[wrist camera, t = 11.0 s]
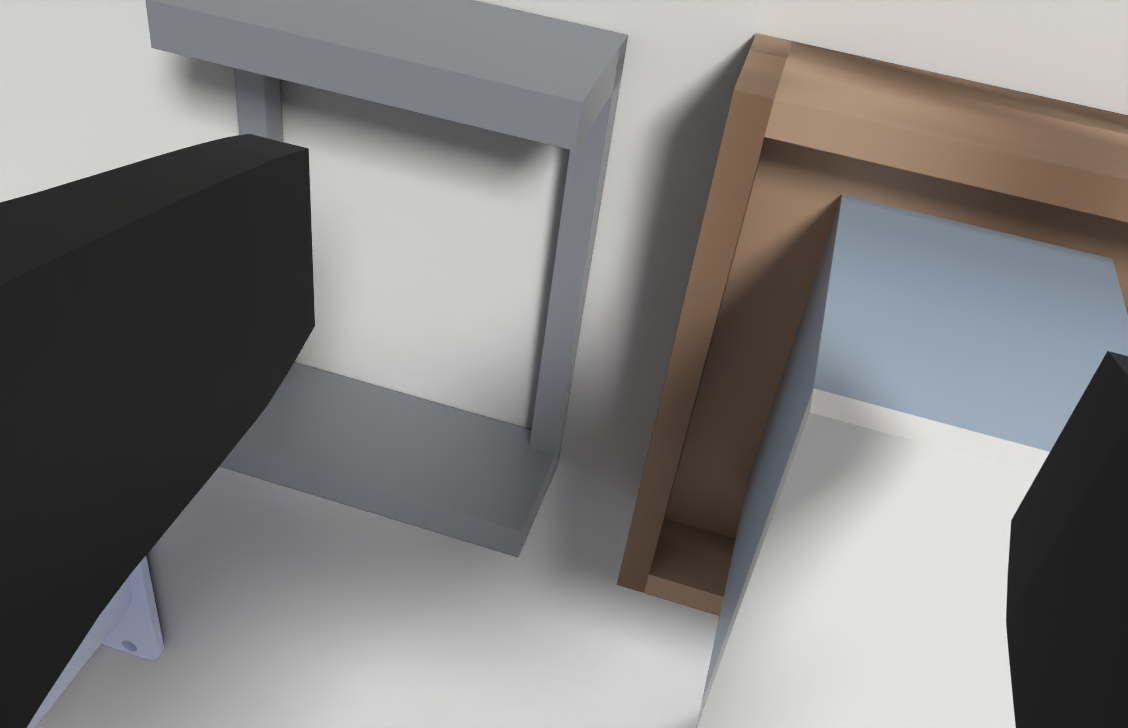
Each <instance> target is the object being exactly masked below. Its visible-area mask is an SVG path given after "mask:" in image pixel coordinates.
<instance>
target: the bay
mask: <svg viewBox="0 0 1128 728" xmlns="http://www.w3.org/2000/svg"><path fill="white" fill-rule="evenodd" d="M146 8H147V16H148V23H149V31H150V38H151V46H152V48H155V49H159V50H163V51H167V52H171V53H175V54H179V55H184V56H188V57H192V58H196V59H200V60H204V61H208V62H212V63H216V64H220V65H225V66H229V67H233V68H234V72H235V85H236V97H237V109H238V122H239V134H240V135H244V134H253V135H256V136H260V137H264V138H268V139H272V140H276V141H280V142H283V132H282V113H281V94H280V79H282V80H286V81H290V82H294V83H298V84H303V85H307V86H311V87H315V88H319V89H323V90H327V91H331V92H335V93H339V94H344V95H348V96H352V97H356V98H360V99H364V100H368V101H372V102H376V103H380V104H385V105H389V106H393V107H397V108H401V109H405V110H409V111H413V112H417V113H422V114H426V115H430V116H434V117H438V118H442V119H446V120H450V121H454V122H458V123H463V124H467V125H471V126H475V127H479V128H483V129H487V130H491V131H495V132H499V133H504V134H508V135H512V136H516V137H520V138H524V139H528V140H532V141H536V142H540V143H545V144H549V145H553V146H557V147H561V148H565V149H569V150H570V154H569V161H568V168H567V176H566V183H565V190H564V197H563V205H562V212H561V219H560V227H559V234H558V241H557V248H556V256H555V263H554V270H553V278H552V285H551V292H550V299H549V307H548V314H547V321H546V329H545V336H544V343H543V350H542V358H541V365H540V372H539V380H538V387H537V394H536V401H535V409H534V416H533V423H532V430H529V429H526V428H522V427H519V426H515V425H512V424H508V423H505V422H501V421H498V420H494V419H491V418H487V417H484V416H480V415H477V414H473V413H470V412H466V411H463V410H459V409H456V408H452V407H449V406H445V405H442V404H438V403H435V402H431V401H428V400H424V399H421V398H417V397H414V396H410V395H407V394H403V393H400V392H396V391H393V390H389V389H386V388H382V387H379V386H375V385H372V384H368V383H365V382H361V381H358V380H354V379H351V378H347V377H344V376H340V375H337V374H333V373H330V372H326V371H323V370H319V369H316V368H312V367H309V366H305V365H302V364H298V363H295V361H294V363H293V365H292V367H291V369H290V370H289V372H288V373H287V375H286V377H285V378H284V380H283V382H282V383H281V385H280V386H279V388H278V390H277V391H276V393H275V394H274V396H273V398H272V399H271V401H270V403H269V404H268V406H267V407H266V408H265V409H264V411H263V412H262V413H261V415H260V416H259V417H258V418H257V420H256V421H255V422H254V424H253V425H252V426H251V427H250V429H249V430H248V431H247V432H246V434H245V435H244V436H243V437H242V439H241V440H240V441H239V442H238V444H237V445H236V446H235V447H234V448H233V450H232V451H231V452H230V453H229V455H228V456H227V457H226V458H225V460H224V461H223V462H222V463H221V465H220V467H223V468H226V469H229V470H233V471H236V472H239V473H243V474H246V475H249V476H252V477H256V478H259V479H262V480H266V481H269V482H272V483H275V484H279V485H282V486H285V487H289V488H292V489H295V490H298V491H302V492H305V493H308V494H312V495H315V496H318V497H321V498H325V499H328V500H331V501H335V502H338V503H341V504H344V505H348V506H351V507H354V508H358V509H361V510H364V511H367V512H371V513H374V514H377V515H380V516H384V517H387V518H390V519H394V520H397V521H400V522H403V523H407V524H410V525H413V526H417V527H420V528H423V529H426V530H430V531H433V532H436V533H440V534H443V535H446V536H449V537H453V538H456V539H459V540H463V541H466V542H469V543H472V544H476V545H479V546H482V547H486V548H489V549H492V550H495V551H499V552H502V553H505V554H509V555H512V556H515V557H519V554H520V552H521V550H522V547H523V545H524V543H525V540H526V538H527V536H528V533H529V531H530V528H531V526H532V524H533V521H534V519H535V517H536V514H537V512H538V510H539V507H540V505H541V503H542V500H543V498H544V496H545V493H546V491H547V489H548V486H549V484H550V482H551V479H552V477H553V475H554V472H555V470H556V468H557V465H558V461H559V455H560V449H561V443H562V437H563V431H564V424H565V418H566V412H567V406H568V400H569V394H570V388H571V382H572V375H573V369H574V363H575V357H576V351H577V345H578V339H579V333H580V326H581V320H582V314H583V308H584V302H585V296H586V290H587V284H588V277H589V271H590V265H591V259H592V253H593V247H594V241H595V235H596V228H597V222H598V216H599V210H600V204H601V198H602V192H603V186H604V180H605V173H606V167H607V161H608V155H609V149H610V143H611V137H612V131H613V124H614V118H615V112H616V106H617V100H618V94H619V88H620V82H621V75H622V69H623V63H624V57H625V51H626V45H627V39H628V35H625V34H621V33H616V32H612V31H607V30H603V29H599V28H594V27H590V26H585V25H581V24H576V23H572V22H568V21H563V20H559V19H554V18H550V17H545V16H541V15H536V14H532V13H528V12H523V11H519V10H514V9H510V8H505V7H501V6H497V5H492V4H488V3H483V2H479V1H474V0H146Z"/></svg>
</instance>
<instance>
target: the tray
mask: <svg viewBox="0 0 1128 728" xmlns="http://www.w3.org/2000/svg"><path fill="white" fill-rule="evenodd" d="M842 194H845V195H849V196H853V197H857V198H862V199H866V200H870V201H874V202H878V203H882V204H887V205H891V206H895V207H899V208H903V209H907V210H911V211H916V212H920V213H924V214H928V215H932V216H936V217H941V218H945V219H949V220H953V221H957V222H961V223H965V224H970V225H974V226H978V227H982V228H986V229H990V230H995V231H999V232H1003V233H1007V234H1011V235H1015V236H1019V237H1024V238H1028V239H1032V240H1036V241H1040V242H1044V243H1049V244H1053V245H1057V246H1061V247H1065V248H1069V249H1073V250H1078V251H1082V252H1086V253H1090V254H1094V255H1098V256H1103V257H1107V258H1111V259H1113V262H1114V266H1115V270H1116V273H1117V277H1118V281H1119V284H1120V288H1121V292H1122V295H1123V299H1124V303H1125V306H1126V310H1127V314H1128V115H1123V114H1119V113H1114V112H1110V111H1105V110H1101V109H1096V108H1092V107H1087V106H1083V105H1078V104H1074V103H1069V102H1065V101H1060V100H1056V99H1051V98H1046V97H1042V96H1037V95H1033V94H1028V93H1024V92H1019V91H1015V90H1010V89H1006V88H1001V87H997V86H992V85H988V84H983V83H979V82H974V81H970V80H965V79H961V78H956V77H951V76H947V75H942V74H938V73H933V72H929V71H924V70H920V69H915V68H911V67H906V66H902V65H897V64H893V63H888V62H884V61H879V60H875V59H870V58H866V57H861V56H856V55H852V54H847V53H843V52H838V51H834V50H829V49H825V48H820V47H816V46H811V45H807V44H802V43H798V42H793V41H789V40H784V39H780V38H775V37H771V36H766V35H761V34H757V33H756V35H755V37H754V40H753V42H752V45H751V47H750V50H749V52H748V55H747V58H746V60H745V63H744V65H743V68H742V70H741V73H740V75H739V78H738V80H737V83H736V85H735V88H734V91H733V95H732V99H731V103H730V108H729V112H728V116H727V120H726V125H725V129H724V133H723V137H722V142H721V146H720V150H719V154H718V158H717V163H716V167H715V171H714V175H713V180H712V184H711V188H710V192H709V197H708V201H707V205H706V209H705V214H704V218H703V222H702V226H701V230H700V235H699V239H698V243H697V247H696V252H695V256H694V260H693V264H692V269H691V273H690V277H689V281H688V285H687V290H686V294H685V298H684V302H683V307H682V311H681V315H680V319H679V324H678V328H677V332H676V336H675V340H674V345H673V349H672V353H671V357H670V362H669V366H668V370H667V374H666V379H665V383H664V387H663V391H662V395H661V400H660V404H659V408H658V412H657V417H656V421H655V425H654V429H653V434H652V438H651V442H650V446H649V451H648V455H647V459H646V463H645V467H644V472H643V476H642V480H641V484H640V489H639V493H638V497H637V501H636V506H635V510H634V514H633V518H632V522H631V527H630V531H629V535H628V539H627V544H626V548H625V552H624V556H623V561H622V565H621V569H620V573H619V577H618V582H617V585H620V586H623V587H626V588H630V589H633V590H636V591H640V592H643V593H646V594H649V595H653V596H656V597H659V598H663V599H666V600H669V601H672V602H676V603H679V604H682V605H686V606H689V607H692V608H695V609H699V610H702V611H705V612H709V613H712V614H715V615H718V616H720V612H721V607H722V602H723V598H724V593H725V588H726V583H727V578H728V573H729V568H730V564H731V559H732V554H733V549H734V544H735V539H736V535H737V530H738V525H739V520H740V515H741V510H742V505H743V501H744V496H745V491H746V486H747V483H748V480H749V477H750V474H751V471H752V468H753V465H754V462H755V459H756V456H757V453H758V450H759V447H760V444H761V441H762V437H763V434H764V431H765V428H766V425H767V422H768V419H769V416H770V413H771V410H772V407H773V404H774V401H775V398H776V395H777V392H778V389H779V386H780V382H781V379H782V376H783V373H784V370H785V367H786V364H787V361H788V358H789V355H790V352H791V349H792V346H793V343H794V340H795V337H796V334H797V331H798V327H799V324H800V321H801V318H802V315H803V312H804V309H805V306H806V303H807V300H808V297H809V294H810V291H811V288H812V285H813V282H814V279H815V276H816V272H817V269H818V266H819V263H820V260H821V257H822V254H823V251H824V248H825V245H826V242H827V239H828V236H829V233H830V230H831V227H832V224H833V221H834V217H835V214H836V211H837V208H838V205H839V202H840V199H841V196H842Z"/></svg>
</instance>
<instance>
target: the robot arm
mask: <svg viewBox="0 0 1128 728" xmlns="http://www.w3.org/2000/svg"><path fill="white" fill-rule="evenodd" d="M314 326H315V316H314V288H313V260H312V232H311V204H310V176H309V149H308V148H304V147H300V146H296V145H292V144H288V143H284V142H280V141H276V140H272V139H268V138H264V137H260V136H256V135H253V134H244V135H238V136H233V137H227V138H223V139H218V140H214V141H210V142H206V143H202V144H198V145H195V146H191V147H187V148H184V149H180V150H177V151H173V152H170V153H166V154H163V155H160V156H156V157H153V158H150V159H146V160H143V161H140V162H136V163H133V164H130V165H126V166H123V167H120V168H117V169H113V170H110V171H107V172H103V173H100V174H97V175H93V176H90V177H87V178H83V179H80V180H77V181H74V182H70V183H67V184H64V185H60V186H57V187H54V188H50V189H47V190H44V191H40V192H37V193H34V194H30V195H27V196H23V197H19V198H15V199H12V200H8V201H4V202H1V203H0V728H35V727H36V726H37V724H38V723H39V722H40V721H41V719H42V718H43V717H44V715H45V714H46V713H47V712H48V710H49V709H50V708H51V707H52V705H53V704H54V703H55V701H56V700H57V699H58V698H59V696H60V695H61V694H62V693H63V691H64V690H65V689H66V688H67V686H68V685H69V684H70V682H71V681H72V680H73V679H74V677H75V676H76V675H77V674H78V672H79V671H80V670H81V669H82V667H83V666H84V665H85V663H86V662H87V661H88V660H89V658H90V657H91V656H92V655H93V653H94V652H95V651H96V650H97V648H98V647H99V646H100V644H102V645H105V646H108V647H111V648H114V649H117V650H120V651H123V652H126V653H129V654H132V655H135V656H138V657H140V658H143V659H147V660H156V659H157V658H158V657H159V656H160V654H161V653H162V652H163V650H164V644H163V639H162V634H161V629H160V624H159V619H158V613H157V608H156V603H155V598H154V593H153V588H152V583H151V578H150V573H149V568H148V562H147V557H146V555H147V554H148V552H149V551H150V550H151V549H152V547H153V546H154V545H155V544H156V543H157V541H158V540H159V539H160V538H161V536H162V535H163V534H164V533H165V532H166V530H167V529H168V528H169V527H170V525H171V524H172V523H173V522H174V521H175V519H176V518H177V517H178V516H179V515H180V513H181V512H182V511H183V510H184V508H185V507H186V506H187V505H188V504H189V502H190V501H191V500H192V499H193V497H194V496H195V495H196V494H197V493H198V491H199V490H200V489H201V488H202V487H203V485H204V484H205V483H206V482H207V480H208V479H209V478H210V477H211V476H212V474H213V473H214V472H215V471H216V470H217V468H218V467H219V466H220V465H221V463H222V462H223V461H224V460H225V458H226V457H227V456H228V455H229V453H230V452H231V451H232V450H233V448H234V447H235V446H236V445H237V444H238V442H239V441H240V440H241V439H242V437H243V436H244V435H245V434H246V432H247V431H248V430H249V429H250V427H251V426H252V425H253V424H254V422H255V421H256V420H257V418H258V417H259V416H260V415H261V413H262V412H263V411H264V409H265V408H266V407H267V406H268V404H269V403H270V401H271V399H272V398H273V396H274V394H275V393H276V391H277V390H278V388H279V386H280V385H281V383H282V382H283V380H284V378H285V377H286V375H287V373H288V372H289V370H290V369H291V367H292V365H293V363H294V361H295V360H296V358H297V356H298V354H299V353H300V351H301V349H302V347H303V346H304V344H305V342H306V340H307V339H308V337H309V335H310V333H311V332H312V330H313V328H314ZM1006 628H1007V641H1008V653H1009V663H1010V674H1011V685H1012V695H1013V706H1014V716H1015V726H1016V728H1128V356H1126V355H1122V354H1118V353H1114V352H1110V351H1107V353H1106V354H1105V356H1104V358H1103V360H1102V361H1101V363H1100V365H1099V367H1098V368H1097V370H1096V372H1095V374H1094V375H1093V377H1092V379H1091V381H1090V383H1089V384H1088V386H1087V388H1086V390H1085V391H1084V393H1083V395H1082V397H1081V398H1080V400H1079V402H1078V404H1077V405H1076V407H1075V409H1074V411H1073V412H1072V414H1071V416H1070V418H1069V419H1068V421H1067V423H1066V425H1065V426H1064V428H1063V430H1062V432H1061V433H1060V435H1059V437H1058V439H1057V441H1056V442H1055V444H1054V446H1053V448H1052V449H1051V451H1050V453H1049V455H1048V456H1047V458H1046V460H1045V462H1044V463H1043V465H1042V467H1041V469H1040V470H1039V472H1038V474H1037V476H1036V477H1035V479H1034V481H1033V483H1032V484H1031V486H1030V488H1029V490H1028V492H1027V493H1026V495H1025V497H1024V499H1023V500H1022V502H1021V504H1020V506H1019V507H1018V509H1017V511H1016V513H1015V514H1014V516H1013V518H1012V520H1011V531H1010V546H1009V561H1008V577H1007V605H1006Z"/></svg>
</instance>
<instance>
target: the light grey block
mask: <svg viewBox="0 0 1128 728" xmlns="http://www.w3.org/2000/svg"><path fill="white" fill-rule="evenodd" d="M1107 351H1110V352H1114V353H1118V354H1122V355H1126V356H1128V314H1127V310H1126V306H1125V303H1124V299H1123V295H1122V292H1121V288H1120V284H1119V281H1118V277H1117V273H1116V270H1115V266H1114V262H1113V259H1111V258H1107V257H1103V256H1098V255H1094V254H1090V253H1086V252H1082V251H1078V250H1073V249H1069V248H1065V247H1061V246H1057V245H1053V244H1049V243H1044V242H1040V241H1036V240H1032V239H1028V238H1024V237H1019V236H1015V235H1011V234H1007V233H1003V232H999V231H995V230H990V229H986V228H982V227H978V226H974V225H970V224H965V223H961V222H957V221H953V220H949V219H945V218H941V217H936V216H932V215H928V214H924V213H920V212H916V211H911V210H907V209H903V208H899V207H895V206H891V205H887V204H882V203H878V202H874V201H870V200H866V199H862V198H857V197H853V196H849V195H845V194H842V196H841V199H840V202H839V205H838V208H837V211H836V214H835V217H834V221H833V224H832V227H831V230H830V233H829V236H828V239H827V242H826V245H825V248H824V251H823V254H822V257H821V260H820V263H819V266H818V269H817V272H816V276H815V279H814V282H813V285H812V288H811V291H810V294H809V297H808V300H807V303H806V306H805V309H804V312H803V315H802V318H801V321H800V324H799V327H798V331H797V334H796V337H795V340H794V343H793V346H792V349H791V352H790V355H789V358H788V361H787V364H786V367H785V370H784V373H783V376H782V379H781V382H780V386H779V389H778V392H777V395H776V398H775V401H774V404H773V407H772V410H771V413H770V416H769V419H768V422H767V425H766V428H765V431H764V434H763V437H762V441H761V444H760V447H759V450H758V453H757V456H756V459H755V462H754V465H753V468H752V471H751V474H750V477H749V480H748V483H747V486H746V491H745V496H744V501H743V505H742V510H741V515H740V520H739V525H738V530H737V535H736V539H735V544H734V549H733V554H732V559H731V564H730V568H729V573H728V578H727V583H726V588H725V593H724V598H723V602H722V607H721V612H720V617H719V622H718V627H717V631H716V636H715V641H714V646H713V651H712V656H711V661H710V665H709V670H708V675H707V680H706V685H705V690H704V694H703V699H702V704H701V709H700V714H699V719H698V724H697V728H1016V726H1015V716H1014V706H1013V695H1012V685H1011V674H1010V663H1009V653H1008V641H1007V628H1006V605H1007V577H1008V561H1009V546H1010V531H1011V520H1012V518H1013V516H1014V514H1015V513H1016V511H1017V509H1018V507H1019V506H1020V504H1021V502H1022V500H1023V499H1024V497H1025V495H1026V493H1027V492H1028V490H1029V488H1030V486H1031V484H1032V483H1033V481H1034V479H1035V477H1036V476H1037V474H1038V472H1039V470H1040V469H1041V467H1042V465H1043V463H1044V462H1045V460H1046V458H1047V456H1048V455H1049V453H1050V451H1051V449H1052V448H1053V446H1054V444H1055V442H1056V441H1057V439H1058V437H1059V435H1060V433H1061V432H1062V430H1063V428H1064V426H1065V425H1066V423H1067V421H1068V419H1069V418H1070V416H1071V414H1072V412H1073V411H1074V409H1075V407H1076V405H1077V404H1078V402H1079V400H1080V398H1081V397H1082V395H1083V393H1084V391H1085V390H1086V388H1087V386H1088V384H1089V383H1090V381H1091V379H1092V377H1093V375H1094V374H1095V372H1096V370H1097V368H1098V367H1099V365H1100V363H1101V361H1102V360H1103V358H1104V356H1105V354H1106V353H1107Z"/></svg>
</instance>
